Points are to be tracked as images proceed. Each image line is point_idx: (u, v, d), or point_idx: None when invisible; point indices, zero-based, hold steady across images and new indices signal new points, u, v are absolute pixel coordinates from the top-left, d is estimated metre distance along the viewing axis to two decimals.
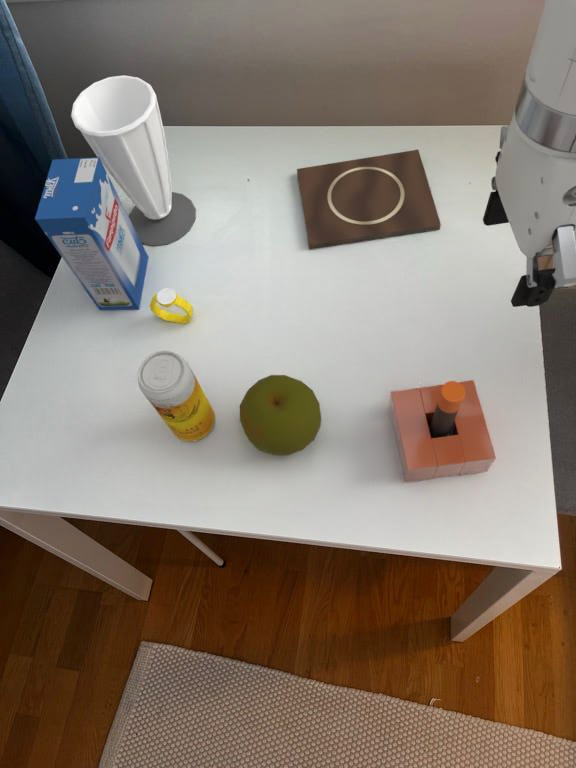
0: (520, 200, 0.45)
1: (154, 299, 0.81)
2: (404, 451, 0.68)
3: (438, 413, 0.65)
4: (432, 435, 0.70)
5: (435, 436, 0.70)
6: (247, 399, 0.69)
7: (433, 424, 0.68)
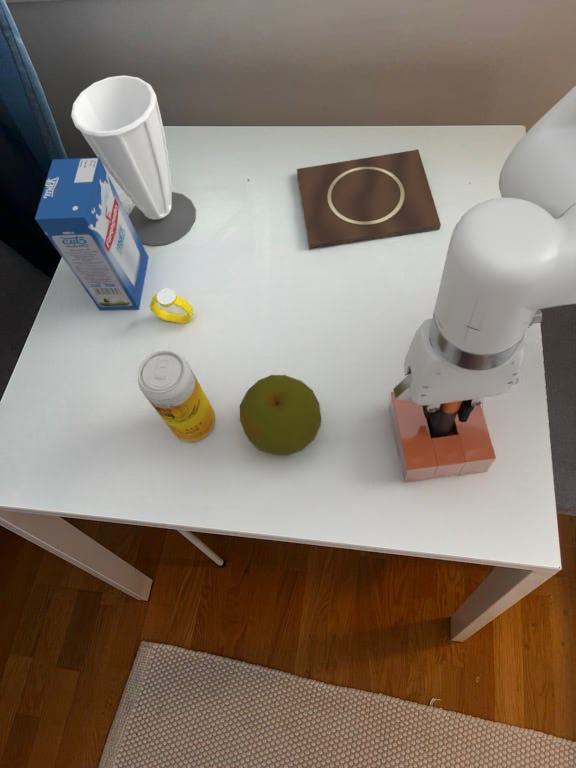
0: (487, 384, 0.55)
1: (154, 299, 0.81)
2: (404, 451, 0.68)
3: None
4: (432, 435, 0.70)
5: (435, 436, 0.70)
6: (247, 399, 0.69)
7: None
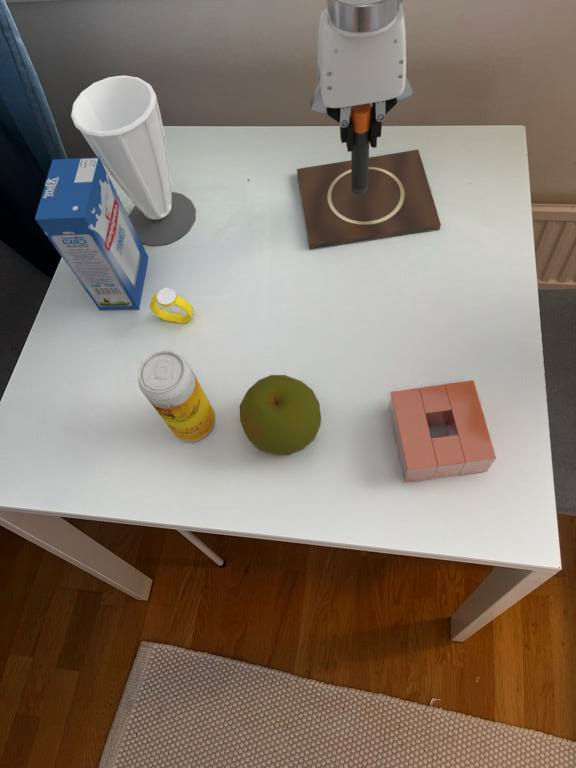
0: (379, 74, 0.67)
1: (154, 299, 0.81)
2: (404, 451, 0.68)
3: None
4: (353, 177, 0.82)
5: (355, 176, 0.82)
6: (247, 399, 0.69)
7: (352, 160, 0.80)
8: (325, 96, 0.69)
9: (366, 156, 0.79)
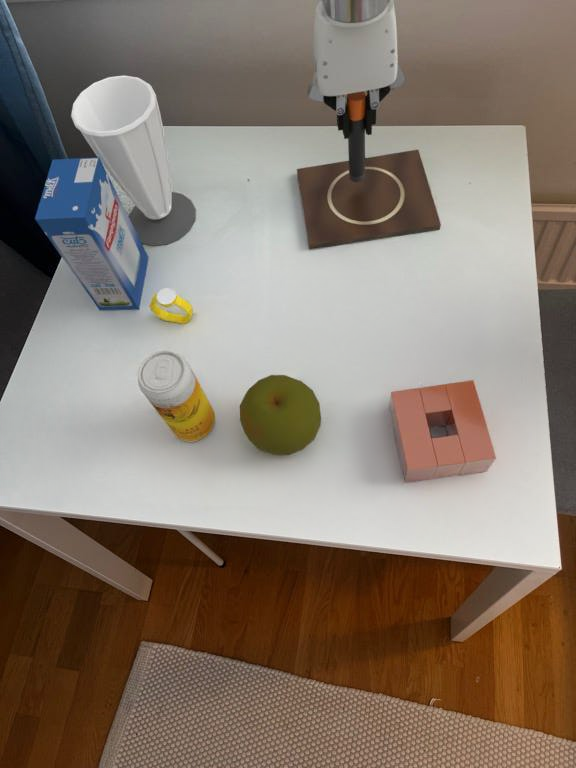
0: (372, 63, 0.71)
1: (154, 299, 0.81)
2: (404, 451, 0.68)
3: None
4: (350, 164, 0.86)
5: (352, 163, 0.86)
6: (247, 399, 0.69)
7: (349, 147, 0.84)
8: (321, 85, 0.73)
9: (362, 143, 0.83)
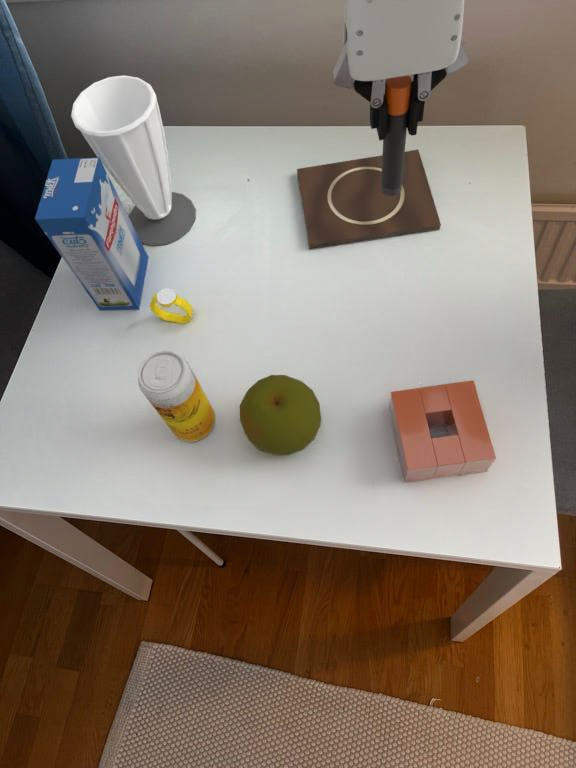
0: (427, 34, 0.50)
1: (154, 299, 0.81)
2: (404, 451, 0.68)
3: None
4: (384, 173, 0.65)
5: (387, 172, 0.65)
6: (247, 399, 0.69)
7: (383, 151, 0.63)
8: (353, 64, 0.52)
9: (402, 146, 0.62)
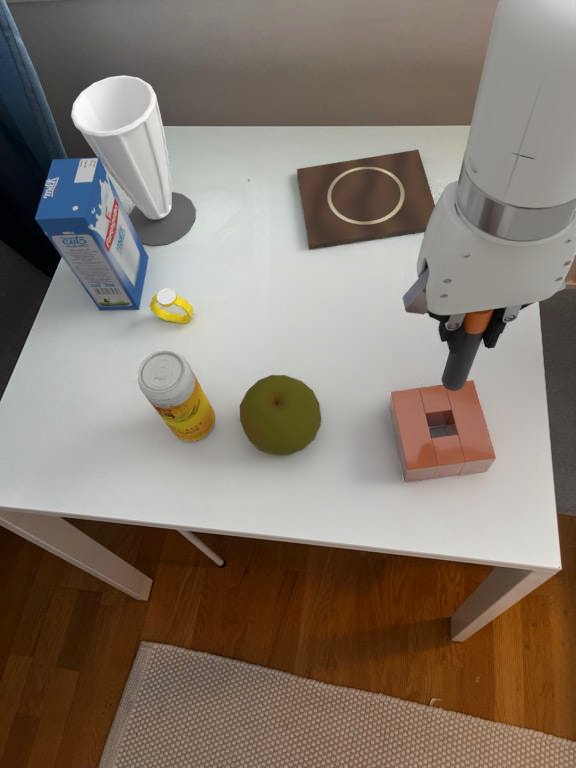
0: (529, 279, 0.41)
1: (154, 299, 0.81)
2: (404, 451, 0.68)
3: None
4: (449, 373, 0.56)
5: (453, 373, 0.56)
6: (247, 399, 0.69)
7: (451, 356, 0.54)
8: (434, 303, 0.43)
9: (474, 354, 0.53)
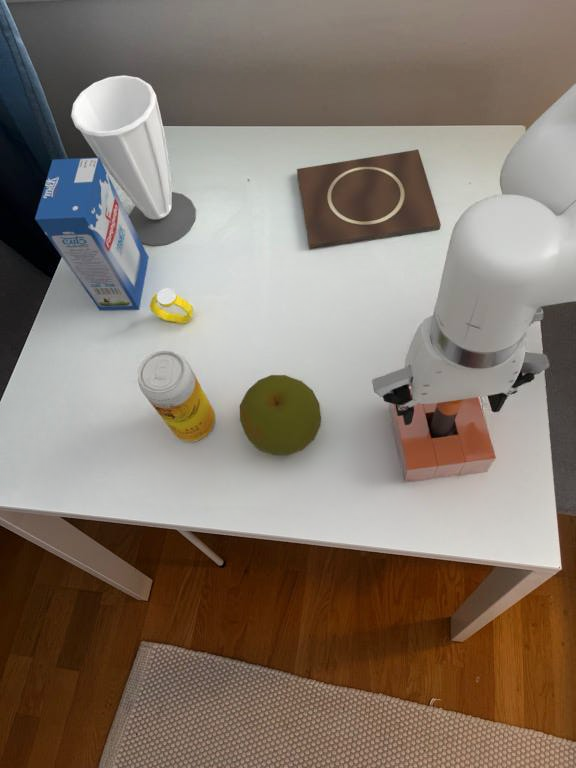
0: (488, 383, 0.54)
1: (154, 299, 0.81)
2: (404, 451, 0.68)
3: (437, 415, 0.65)
4: (431, 437, 0.70)
5: None
6: (247, 399, 0.69)
7: (432, 426, 0.68)
8: (417, 397, 0.57)
9: (451, 426, 0.67)
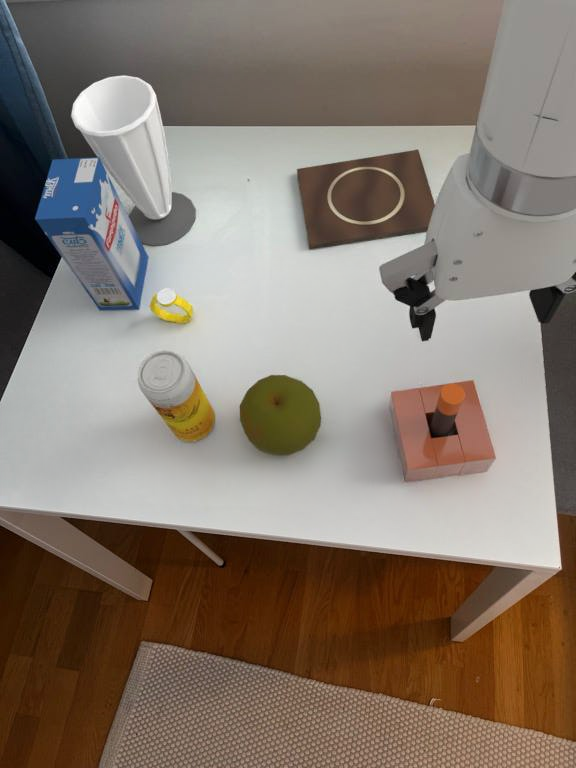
0: (545, 260, 0.38)
1: (154, 299, 0.81)
2: (404, 451, 0.68)
3: (437, 415, 0.65)
4: (431, 437, 0.70)
5: None
6: (247, 399, 0.69)
7: (432, 426, 0.68)
8: (442, 288, 0.40)
9: (451, 426, 0.67)
